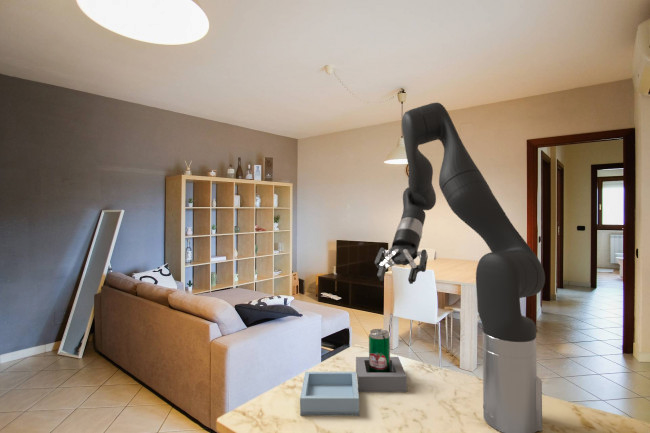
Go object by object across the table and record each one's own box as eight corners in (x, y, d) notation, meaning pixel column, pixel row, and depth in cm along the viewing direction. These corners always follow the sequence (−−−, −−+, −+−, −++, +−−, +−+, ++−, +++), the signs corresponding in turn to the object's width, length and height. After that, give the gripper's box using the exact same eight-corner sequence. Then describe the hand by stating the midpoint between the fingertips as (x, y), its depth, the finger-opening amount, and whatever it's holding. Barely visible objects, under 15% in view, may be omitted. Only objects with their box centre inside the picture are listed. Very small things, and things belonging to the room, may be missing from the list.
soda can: (366, 383, 84) (366, 333, 84) (372, 374, 89) (371, 327, 89) (387, 387, 82) (387, 336, 82) (392, 377, 87) (391, 329, 87)
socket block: (398, 370, 91) (398, 356, 91) (406, 391, 80) (406, 376, 80) (356, 370, 91) (355, 356, 91) (358, 391, 80) (358, 376, 80)
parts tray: (355, 386, 83) (355, 371, 83) (359, 415, 71) (359, 398, 71) (305, 386, 83) (305, 371, 83) (300, 415, 71) (300, 398, 71)
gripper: (382, 227, 106) (366, 270, 97) (429, 227, 99) (417, 274, 89) (388, 243, 111) (374, 286, 101) (434, 244, 104) (424, 291, 94)
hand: (395, 280), depth 95 cm, fingers open, 8 cm apart
